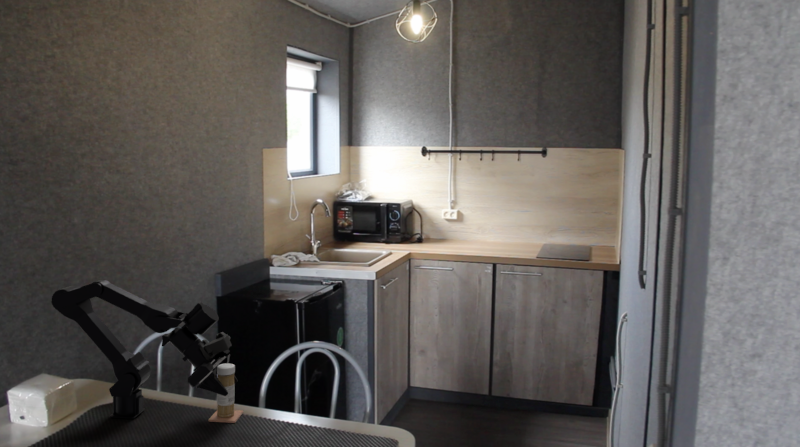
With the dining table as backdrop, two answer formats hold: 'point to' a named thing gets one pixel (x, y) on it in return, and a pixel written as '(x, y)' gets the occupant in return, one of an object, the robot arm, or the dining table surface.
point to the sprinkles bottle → (227, 379)
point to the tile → (229, 419)
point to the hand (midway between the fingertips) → (231, 388)
